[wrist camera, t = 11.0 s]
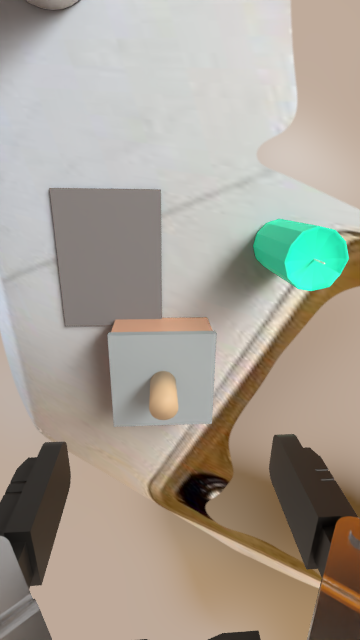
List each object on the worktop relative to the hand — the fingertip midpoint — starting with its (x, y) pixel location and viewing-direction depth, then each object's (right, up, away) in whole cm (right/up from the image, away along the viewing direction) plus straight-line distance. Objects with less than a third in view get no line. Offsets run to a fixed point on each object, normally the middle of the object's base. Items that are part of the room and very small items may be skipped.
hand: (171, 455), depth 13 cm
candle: (+12, +14, +27) cm, 33 cm away
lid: (-2, -2, +27) cm, 27 cm away
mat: (-8, +12, +27) cm, 30 cm away
